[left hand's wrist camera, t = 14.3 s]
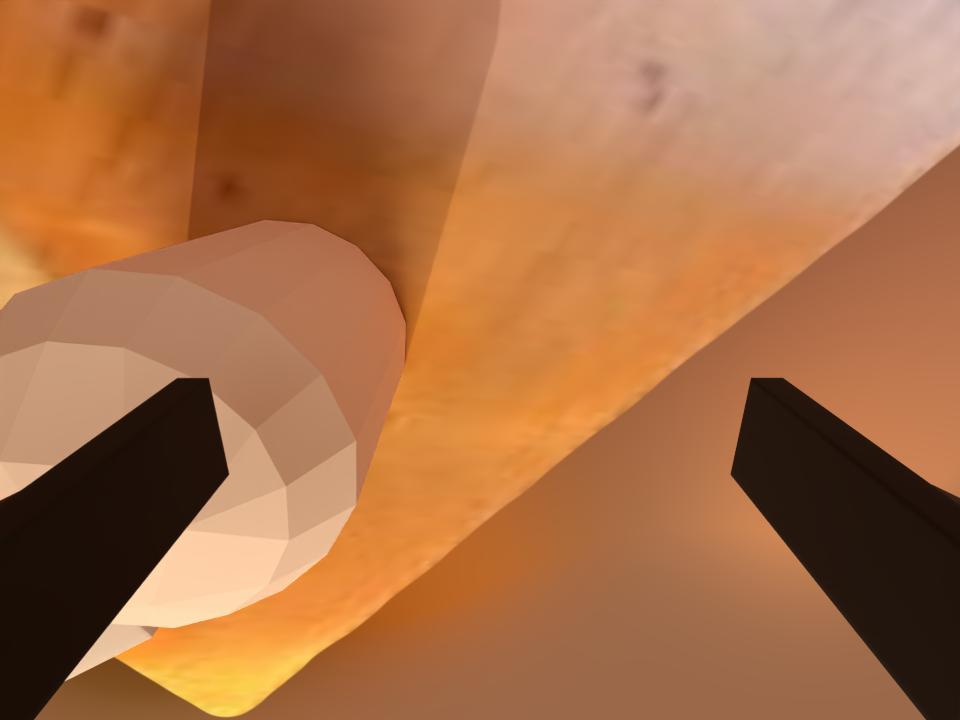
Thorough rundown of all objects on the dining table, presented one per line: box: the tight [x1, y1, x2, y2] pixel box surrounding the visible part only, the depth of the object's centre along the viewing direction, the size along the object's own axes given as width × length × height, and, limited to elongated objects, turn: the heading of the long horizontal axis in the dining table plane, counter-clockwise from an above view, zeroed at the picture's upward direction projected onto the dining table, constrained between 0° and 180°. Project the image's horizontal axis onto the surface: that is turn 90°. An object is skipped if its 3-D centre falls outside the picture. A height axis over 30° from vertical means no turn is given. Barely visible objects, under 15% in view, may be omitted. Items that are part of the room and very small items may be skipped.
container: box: [0, 220, 406, 628], centre depth 34 cm, size 21×21×28 cm
